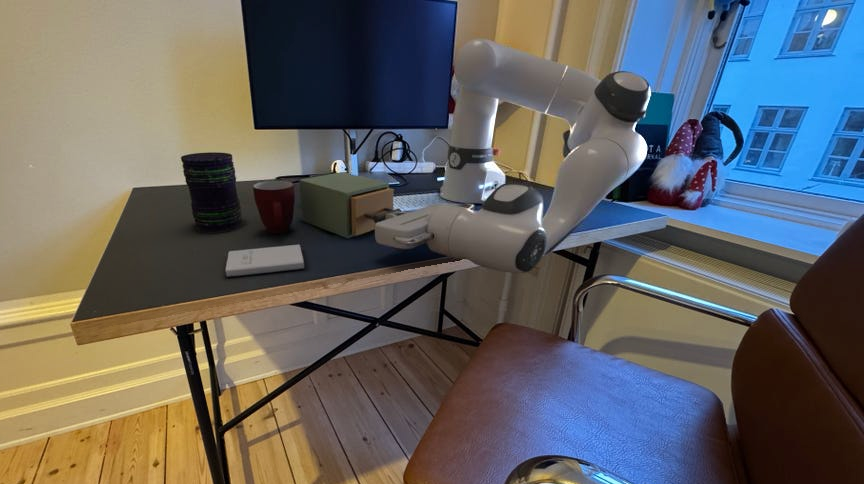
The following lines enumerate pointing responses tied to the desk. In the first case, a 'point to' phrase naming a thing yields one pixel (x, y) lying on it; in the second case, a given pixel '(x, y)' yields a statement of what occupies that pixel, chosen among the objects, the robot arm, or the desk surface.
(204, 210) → the storage jar
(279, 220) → the mug
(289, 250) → the hard drive
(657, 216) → the desk surface
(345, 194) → the cabinet
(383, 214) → the drawer
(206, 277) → the desk surface
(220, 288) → the desk surface
